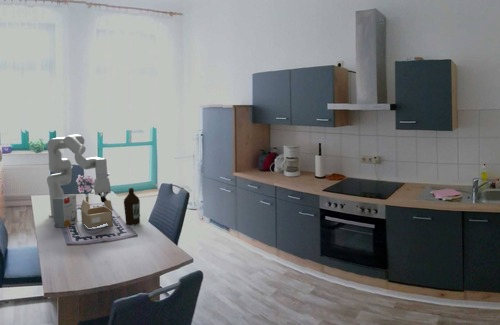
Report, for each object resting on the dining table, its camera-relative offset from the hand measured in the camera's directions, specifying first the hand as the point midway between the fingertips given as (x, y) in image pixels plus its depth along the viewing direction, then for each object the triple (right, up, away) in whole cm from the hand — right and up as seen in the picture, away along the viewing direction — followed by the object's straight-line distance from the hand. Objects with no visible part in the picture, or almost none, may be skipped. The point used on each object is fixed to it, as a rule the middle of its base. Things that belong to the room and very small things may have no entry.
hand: (103, 202), depth 280 cm
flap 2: (+2, -1, +2) cm, 3 cm away
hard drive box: (-26, -16, +1) cm, 31 cm away
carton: (-4, -16, -1) cm, 16 cm away
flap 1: (-10, -3, -6) cm, 12 cm away
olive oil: (+20, -15, +2) cm, 25 cm away
